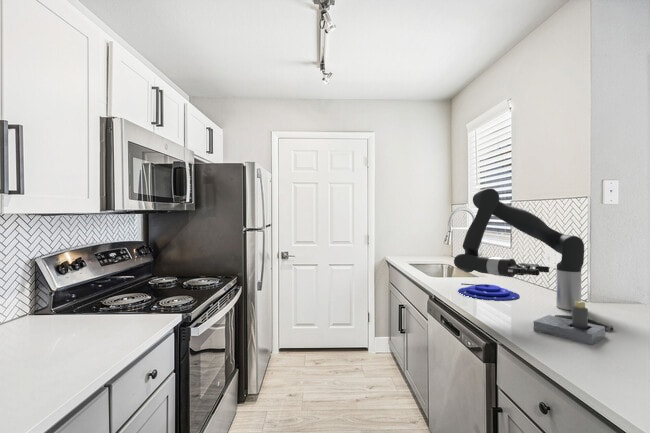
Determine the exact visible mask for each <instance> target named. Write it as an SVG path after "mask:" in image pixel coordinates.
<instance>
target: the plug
mask: <svg viewBox="0 0 650 433" xmlns="http://www.w3.org/2000/svg"><path fill="white" fill-rule="evenodd" d="M571 316H572V327H575V328H579V329H584V330H588V318H589V309H588V308H587V307H586V302H584V301H582V300H581V301H575V306H573V307H572V310H571Z"/></svg>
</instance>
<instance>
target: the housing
mask: <svg viewBox="0 0 650 433" xmlns="http://www.w3.org/2000/svg"><path fill="white" fill-rule="evenodd" d="M533 331H535V332H538V333H541V334H542V333H543V334H546V335H550V336H555V337H559V338H563V339H565V340H571V341H574V342H577V343H578V342H579V343H582V344H586V345H591V346H593V345H595V344H596V343H598V342H599V341H600V340H602V339H604V338H605V337H606V331H605V327H604V326H599V325H594V324H590V323H588V330H584V329H579V328H575V327H572V320H571V319H566V318H561V317H556V316H555V315H552V314H547V315H545V316H542V317H540V318H538V319H535V320H533Z"/></svg>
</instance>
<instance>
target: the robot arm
mask: <svg viewBox="0 0 650 433" xmlns="http://www.w3.org/2000/svg"><path fill="white" fill-rule="evenodd" d="M472 204H473V205H474V206H475V207H476V208H477V212H476V214H475V216H474V218H473V221H472V222H471V224H470V226H469V228H468V229H467V231H466V233H465V236H464V239H463V243H462V249H463V250H464V253H460V254H457V255H455V257H454V258H453V259H454V260H453V265H454V266H455V267H456V268H457V269H459V270H460V271H461V272H464V273H470V274H471V273H472V272H473V271H475V272H477V273H481V274H488V275H493V276H499V277H505V278H513V277H515V275H517V276H521V277H522V276H530V275H531V276H537V277H538V276H540V273H548V274H549V272H550V266H545V265H544V266H542V265H540V264H538V263H536V264H534V263H533V264H532V263H525V262H524V263H523V262H522V263H521V262H519V263H517V262H516V260H515V259H514V258H509V257H507V258H505V257H488V256H487V257H486V256H479V249H480V246H481V243H482V240H483V237H484V234H485V231H486V229H487V226H488V224H489V221H491V220H490V219H491V217H492V216H493V217H495V218H498V219H500V221H503V222H505V223H506V224H508V225H510V226H512V227H513V228H515V229H516V230H518V231H520V232H521V233H524V234H526V235H528V236H530V237H532V238H534V239H536V240H539V241H540V242H542V243H544V244H545V245H547V246H548V247H550V248H551V249H552V250H554V251H555V252H556V253H559V254H560V255H561V259H560V260H561V261H559V262H558V263H557V264H556V298H555V299H556V308H558V309H561V310H565V311H572V307H573V306H575V301H581V302H582V268H583V266H584V263H585V262H584V261H585V244H584V241H583V239H582V238H581V237H579V236H576V235H570V234H564V233H562V232H559V231H557V230H555V229H553V228H551V227H549V226H548V225H547V224H546V223H545V221H544V220H542V219H541V218H540V217H538V216H537V215H535V214H533V213H532V212H529V211H528V210H525V209H522V208H519V207H515V206H513V205H509V204H506V203H504V202H502V201H500V194H499V192H498V191H497V190H496V189H494V188H490V187H489V188H484V189H482V190H479V191H477V192H475V193H474V195H473V197H472Z"/></svg>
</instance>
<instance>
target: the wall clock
mask: <svg viewBox="0 0 650 433" xmlns="http://www.w3.org/2000/svg"><path fill="white" fill-rule="evenodd" d="M461 285H462V286H463V285H464V286H467V287H461V288H458V290H457V292H459V293H461V294H463V295H465V296H464V297H466V296H469V297H468V298H470V297H472V298H471V299H475V298H477V300H482V299H483V300H484V301H491V300H494V301H495V302H504V301H505V302H507V301H509V302H510V301H515V300H519V299H520V296H521V295H520V294H519V293H517V292H516V291H512V290H509V289H507V288H504V287H501V286H499V285H495V284H490V283H489V284H486V283H484V284H483V283H482V284H481V283H479V284H476V283H475V284H472V283H461ZM459 293H458V294H459ZM461 294H460V295H461ZM463 295H462V296H463ZM483 300H482V301H483ZM494 301H493V302H494Z"/></svg>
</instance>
